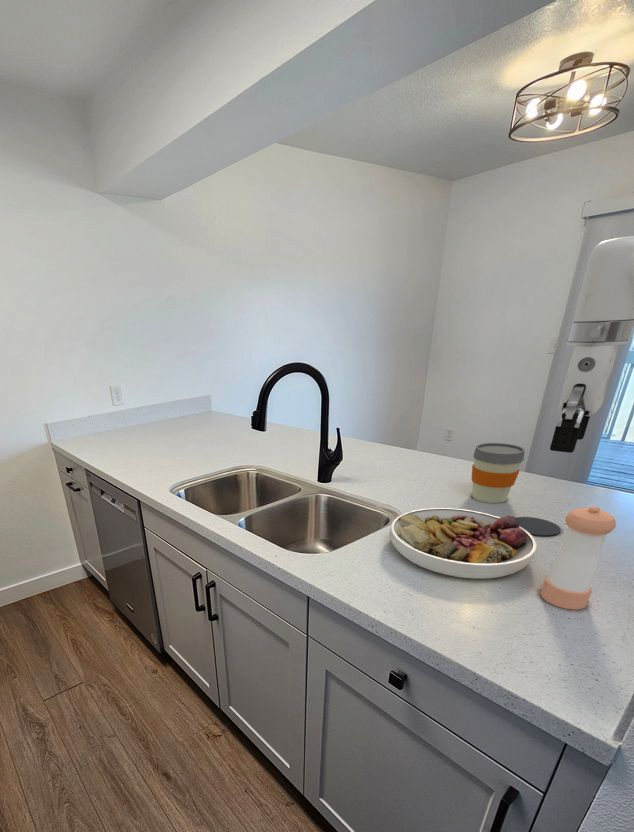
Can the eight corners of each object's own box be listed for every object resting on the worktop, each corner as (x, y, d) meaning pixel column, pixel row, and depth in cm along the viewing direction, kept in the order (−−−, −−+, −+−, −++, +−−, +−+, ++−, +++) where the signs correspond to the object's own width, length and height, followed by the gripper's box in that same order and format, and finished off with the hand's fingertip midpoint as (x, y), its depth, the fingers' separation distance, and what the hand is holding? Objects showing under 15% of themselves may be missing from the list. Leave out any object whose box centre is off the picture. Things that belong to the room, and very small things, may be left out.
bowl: (433, 594, 87) (439, 560, 84) (367, 532, 114) (370, 504, 111) (565, 575, 91) (577, 542, 87) (472, 519, 118) (478, 492, 114)
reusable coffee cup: (512, 508, 123) (525, 456, 116) (463, 501, 129) (472, 451, 122) (513, 493, 132) (526, 444, 125) (467, 488, 138) (477, 441, 131)
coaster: (558, 522, 113) (558, 520, 113) (561, 539, 105) (562, 538, 105) (509, 515, 118) (509, 514, 118) (508, 531, 110) (508, 530, 110)
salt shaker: (589, 597, 84) (624, 505, 75) (583, 614, 79) (619, 519, 71) (544, 584, 89) (573, 496, 80) (536, 600, 84) (565, 509, 75)
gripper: (625, 337, 59) (586, 460, 66) (635, 330, 70) (601, 436, 77) (558, 338, 63) (529, 453, 71) (578, 331, 74) (550, 431, 82)
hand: (566, 444), depth 74 cm, fingers open, 9 cm apart
